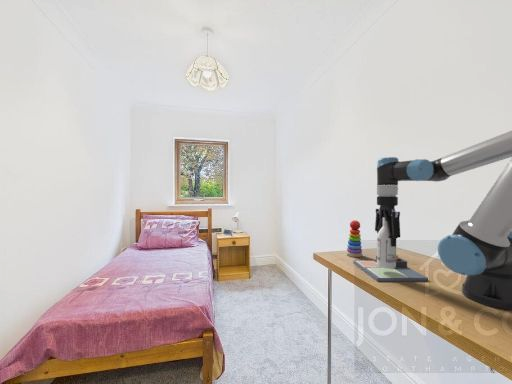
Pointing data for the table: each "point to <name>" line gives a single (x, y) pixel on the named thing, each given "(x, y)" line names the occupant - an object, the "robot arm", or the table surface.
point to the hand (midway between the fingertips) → (386, 251)
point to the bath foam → (384, 248)
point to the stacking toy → (354, 240)
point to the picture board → (390, 271)
